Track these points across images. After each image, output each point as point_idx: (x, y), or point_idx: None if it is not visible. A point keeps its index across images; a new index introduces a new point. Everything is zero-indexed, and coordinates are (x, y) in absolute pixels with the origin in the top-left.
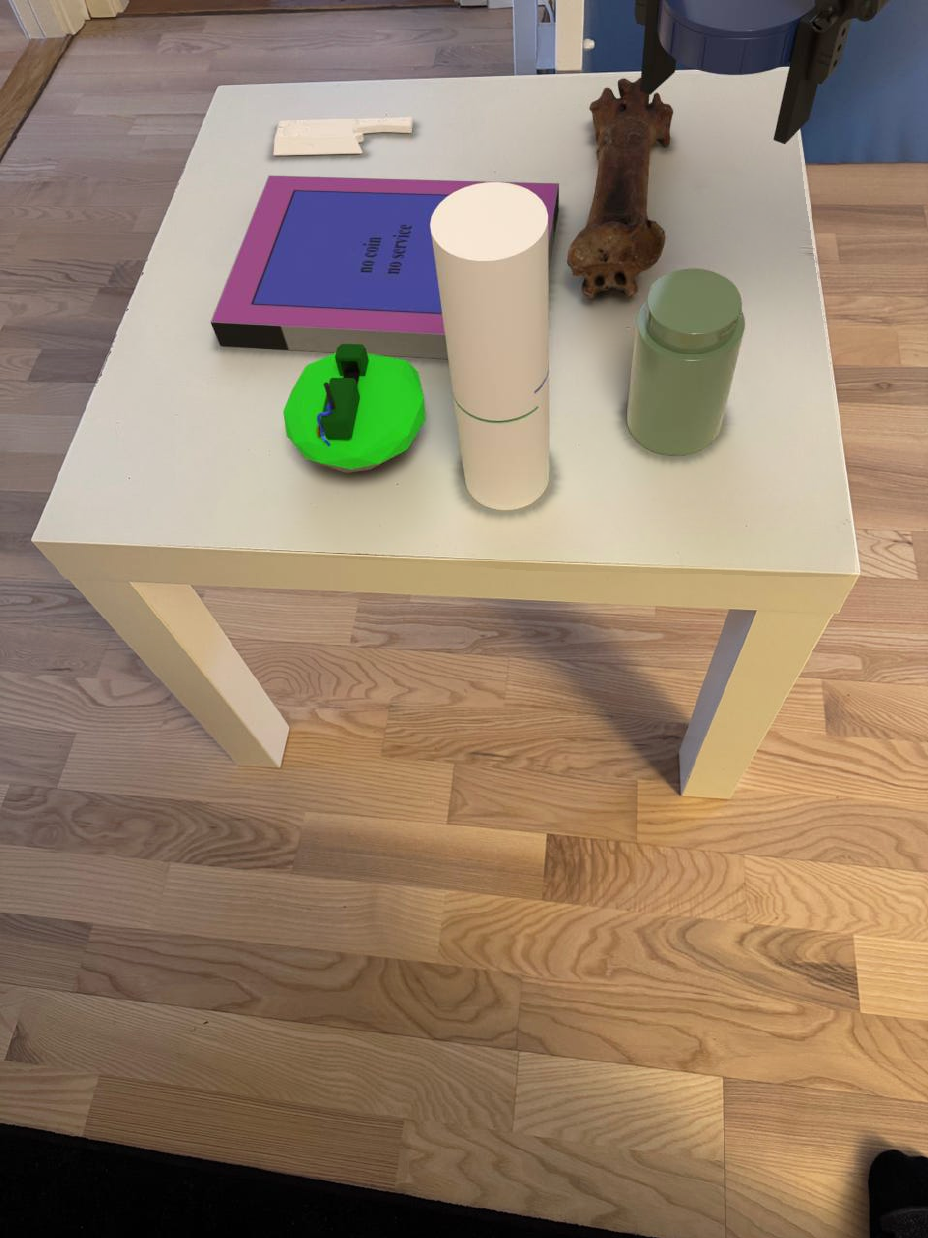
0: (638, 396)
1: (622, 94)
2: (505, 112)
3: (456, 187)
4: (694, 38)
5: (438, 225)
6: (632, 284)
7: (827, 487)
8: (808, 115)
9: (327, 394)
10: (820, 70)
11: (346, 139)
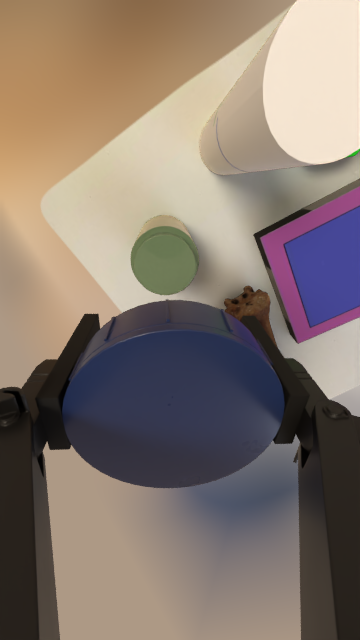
0: (177, 222)
1: None
2: (345, 375)
3: (352, 314)
4: (185, 317)
5: None
6: (227, 303)
7: (73, 246)
8: None
9: None
10: (45, 369)
11: None
